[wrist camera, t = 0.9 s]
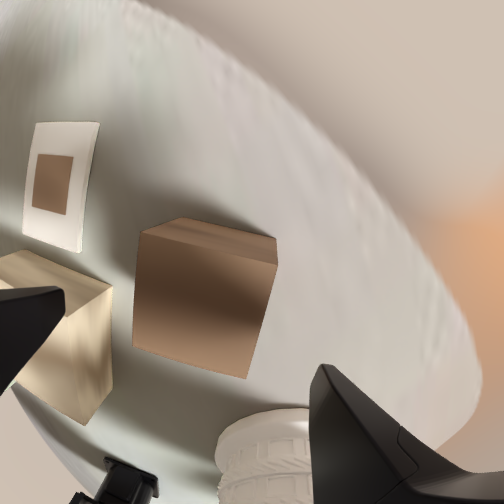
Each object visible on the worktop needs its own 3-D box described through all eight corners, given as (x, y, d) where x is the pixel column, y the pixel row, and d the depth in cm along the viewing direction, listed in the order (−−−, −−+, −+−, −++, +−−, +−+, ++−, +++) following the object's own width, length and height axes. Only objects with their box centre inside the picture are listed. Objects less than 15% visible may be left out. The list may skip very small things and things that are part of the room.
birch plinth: (114, 386, 18) (84, 426, 13) (35, 343, 18) (1, 369, 13) (114, 284, 16) (66, 317, 11) (26, 248, 16) (-20, 265, 11)
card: (81, 251, 15) (75, 253, 14) (26, 232, 15) (21, 234, 15) (100, 123, 13) (94, 121, 13) (40, 123, 13) (34, 122, 13)
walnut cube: (254, 324, 15) (245, 379, 10) (169, 301, 15) (132, 345, 11) (276, 238, 14) (277, 265, 9) (182, 216, 14) (140, 231, 9)
